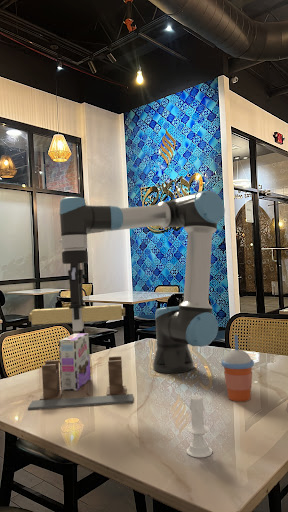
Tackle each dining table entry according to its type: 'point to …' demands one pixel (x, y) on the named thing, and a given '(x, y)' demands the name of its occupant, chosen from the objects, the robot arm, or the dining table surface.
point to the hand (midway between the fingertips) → (78, 329)
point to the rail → (66, 314)
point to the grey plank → (81, 401)
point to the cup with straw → (238, 373)
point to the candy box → (74, 361)
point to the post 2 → (115, 377)
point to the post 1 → (51, 381)
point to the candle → (198, 429)
